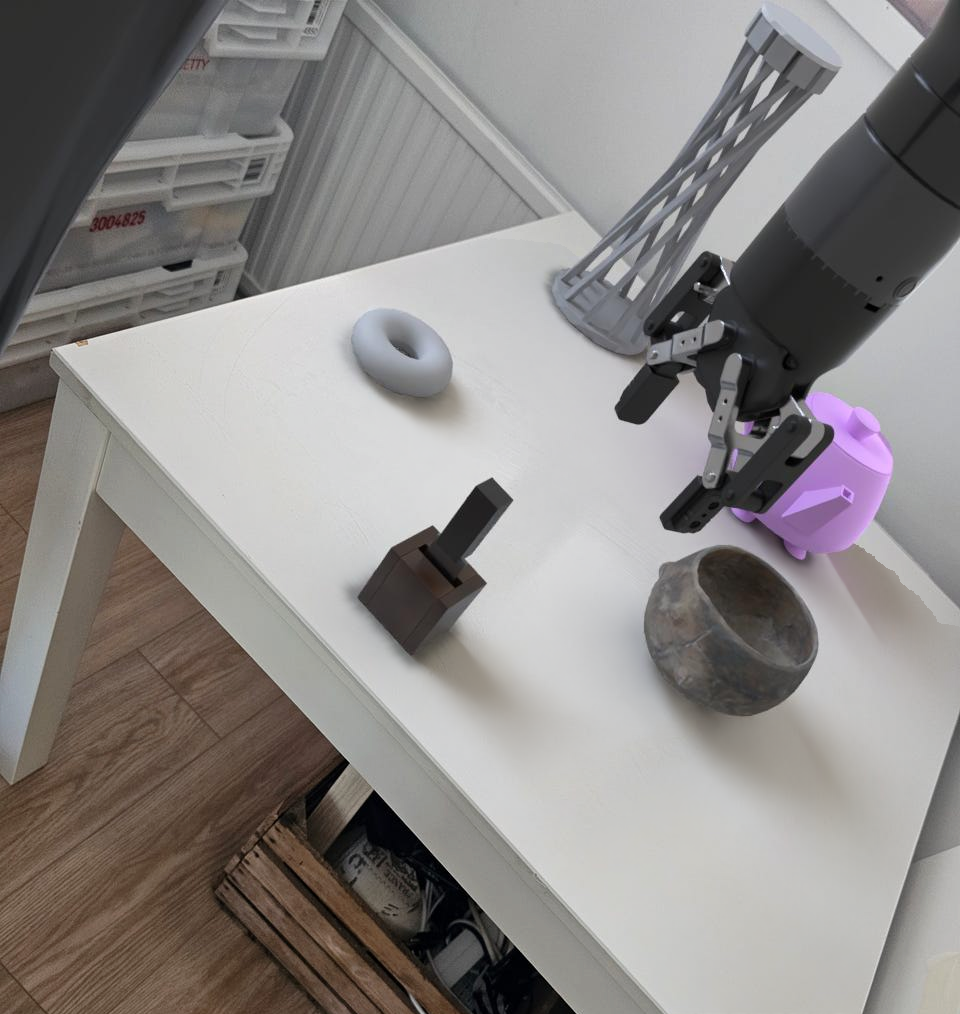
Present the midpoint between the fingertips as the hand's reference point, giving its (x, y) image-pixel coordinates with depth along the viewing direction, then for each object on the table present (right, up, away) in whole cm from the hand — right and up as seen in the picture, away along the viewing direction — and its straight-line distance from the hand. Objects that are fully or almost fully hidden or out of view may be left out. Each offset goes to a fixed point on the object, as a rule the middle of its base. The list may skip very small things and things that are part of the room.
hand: (649, 471), depth 61 cm
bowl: (+9, -13, +32) cm, 35 cm away
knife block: (-16, -8, +18) cm, 25 cm away
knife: (-16, -8, +18) cm, 25 cm away
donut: (-18, +16, +36) cm, 43 cm away
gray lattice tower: (+4, +29, +63) cm, 69 cm away
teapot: (+21, +4, +54) cm, 58 cm away
